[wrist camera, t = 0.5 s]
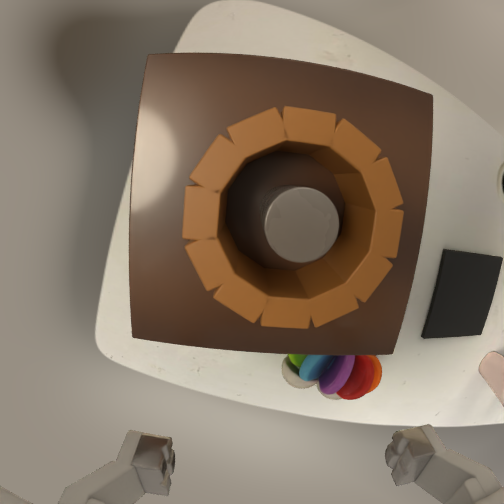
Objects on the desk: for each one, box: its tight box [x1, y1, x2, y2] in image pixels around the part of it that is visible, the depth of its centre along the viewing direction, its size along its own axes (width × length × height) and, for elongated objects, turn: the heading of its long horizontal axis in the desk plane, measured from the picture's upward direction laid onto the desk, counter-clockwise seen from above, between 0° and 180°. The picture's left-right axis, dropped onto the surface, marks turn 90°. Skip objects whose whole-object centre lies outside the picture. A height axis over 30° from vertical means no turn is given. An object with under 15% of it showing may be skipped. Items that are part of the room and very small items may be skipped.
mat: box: [421, 249, 503, 339], centre depth 28 cm, size 10×10×1 cm
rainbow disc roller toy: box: [282, 354, 382, 400], centre depth 26 cm, size 8×10×7 cm
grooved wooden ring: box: [182, 106, 404, 329], centre depth 10 cm, size 6×6×3 cm
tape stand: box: [129, 53, 433, 355], centre depth 17 cm, size 12×12×18 cm
